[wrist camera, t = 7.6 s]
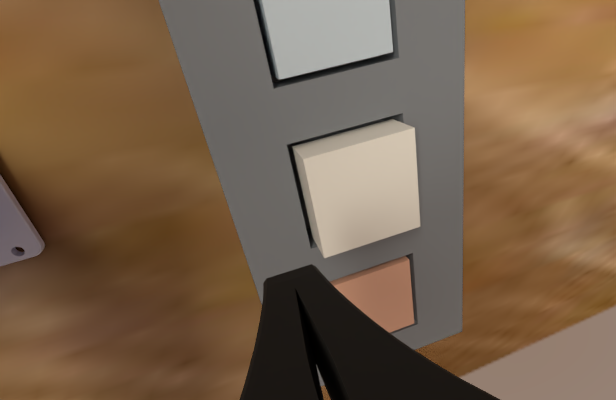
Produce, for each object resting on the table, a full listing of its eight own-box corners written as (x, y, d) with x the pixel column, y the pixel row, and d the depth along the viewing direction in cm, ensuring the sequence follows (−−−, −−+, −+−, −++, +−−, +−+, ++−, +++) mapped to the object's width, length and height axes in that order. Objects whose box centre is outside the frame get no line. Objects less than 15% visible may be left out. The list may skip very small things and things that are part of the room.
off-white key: (312, 237, 18) (324, 258, 16) (292, 146, 16) (303, 159, 14) (400, 209, 19) (420, 226, 17) (392, 119, 17) (414, 127, 15)
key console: (283, 358, 24) (293, 396, 22) (125, -116, 13) (105, -158, 10) (436, 302, 26) (462, 331, 24) (419, -159, 15) (466, -203, 12)
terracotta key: (329, 327, 23) (339, 351, 21) (315, 267, 21) (326, 288, 19) (398, 302, 24) (414, 323, 22) (392, 242, 21) (409, 259, 20)
